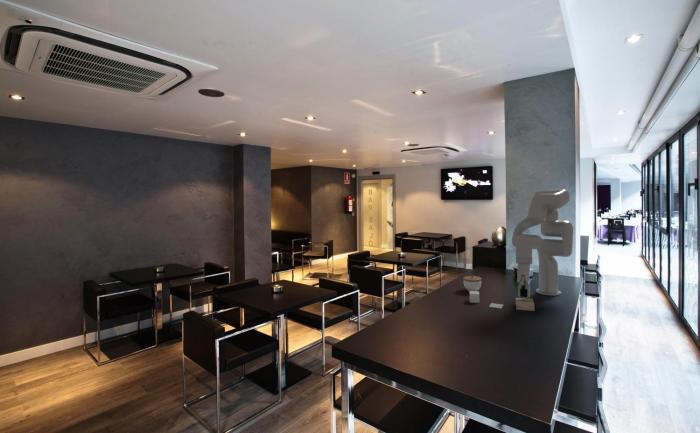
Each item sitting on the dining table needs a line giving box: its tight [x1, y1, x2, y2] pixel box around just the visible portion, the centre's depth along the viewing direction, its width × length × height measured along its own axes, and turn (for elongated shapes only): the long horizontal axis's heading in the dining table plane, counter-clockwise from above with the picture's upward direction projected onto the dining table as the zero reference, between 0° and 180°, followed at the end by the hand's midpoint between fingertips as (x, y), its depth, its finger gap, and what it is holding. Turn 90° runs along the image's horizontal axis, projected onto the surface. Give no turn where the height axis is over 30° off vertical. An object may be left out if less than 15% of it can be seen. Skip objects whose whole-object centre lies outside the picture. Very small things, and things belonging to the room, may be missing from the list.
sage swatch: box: [488, 302, 504, 310], centre depth 176 cm, size 6×6×1 cm
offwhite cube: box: [469, 290, 480, 304], centre depth 185 cm, size 5×5×5 cm
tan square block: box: [515, 297, 535, 312], centre depth 172 cm, size 8×8×4 cm
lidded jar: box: [462, 275, 482, 292], centre depth 206 cm, size 11×11×9 cm
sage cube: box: [517, 284, 531, 299], centre depth 171 cm, size 5×5×5 cm
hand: (524, 294), depth 171 cm, fingers closed on sage cube, 5 cm apart
